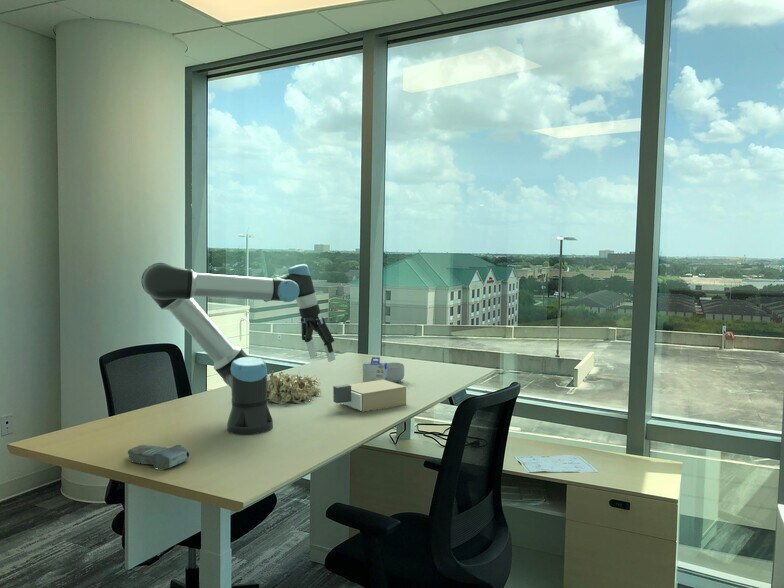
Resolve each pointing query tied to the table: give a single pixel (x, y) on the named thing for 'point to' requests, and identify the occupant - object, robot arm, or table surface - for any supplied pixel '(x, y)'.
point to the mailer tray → (355, 401)
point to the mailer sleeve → (380, 394)
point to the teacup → (395, 372)
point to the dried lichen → (290, 388)
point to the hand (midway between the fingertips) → (322, 359)
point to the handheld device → (159, 455)
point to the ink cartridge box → (374, 370)
